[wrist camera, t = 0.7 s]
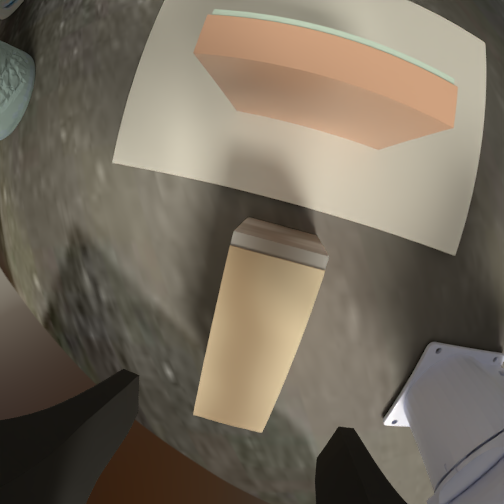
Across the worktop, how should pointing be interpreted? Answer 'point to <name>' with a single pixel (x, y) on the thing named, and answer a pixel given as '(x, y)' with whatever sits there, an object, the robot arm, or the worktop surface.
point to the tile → (324, 79)
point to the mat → (307, 139)
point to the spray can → (8, 7)
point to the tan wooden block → (258, 321)
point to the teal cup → (14, 86)
